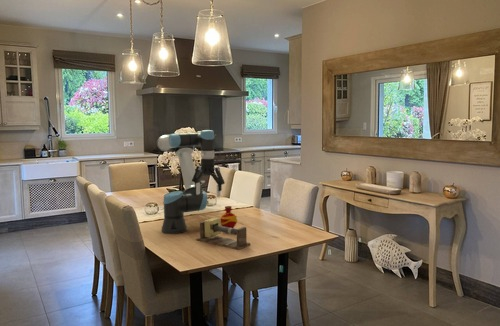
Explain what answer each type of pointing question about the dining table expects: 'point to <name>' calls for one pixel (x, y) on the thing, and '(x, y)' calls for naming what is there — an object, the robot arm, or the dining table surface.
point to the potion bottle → (228, 218)
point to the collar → (209, 227)
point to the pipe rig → (225, 242)
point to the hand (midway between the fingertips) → (208, 195)
